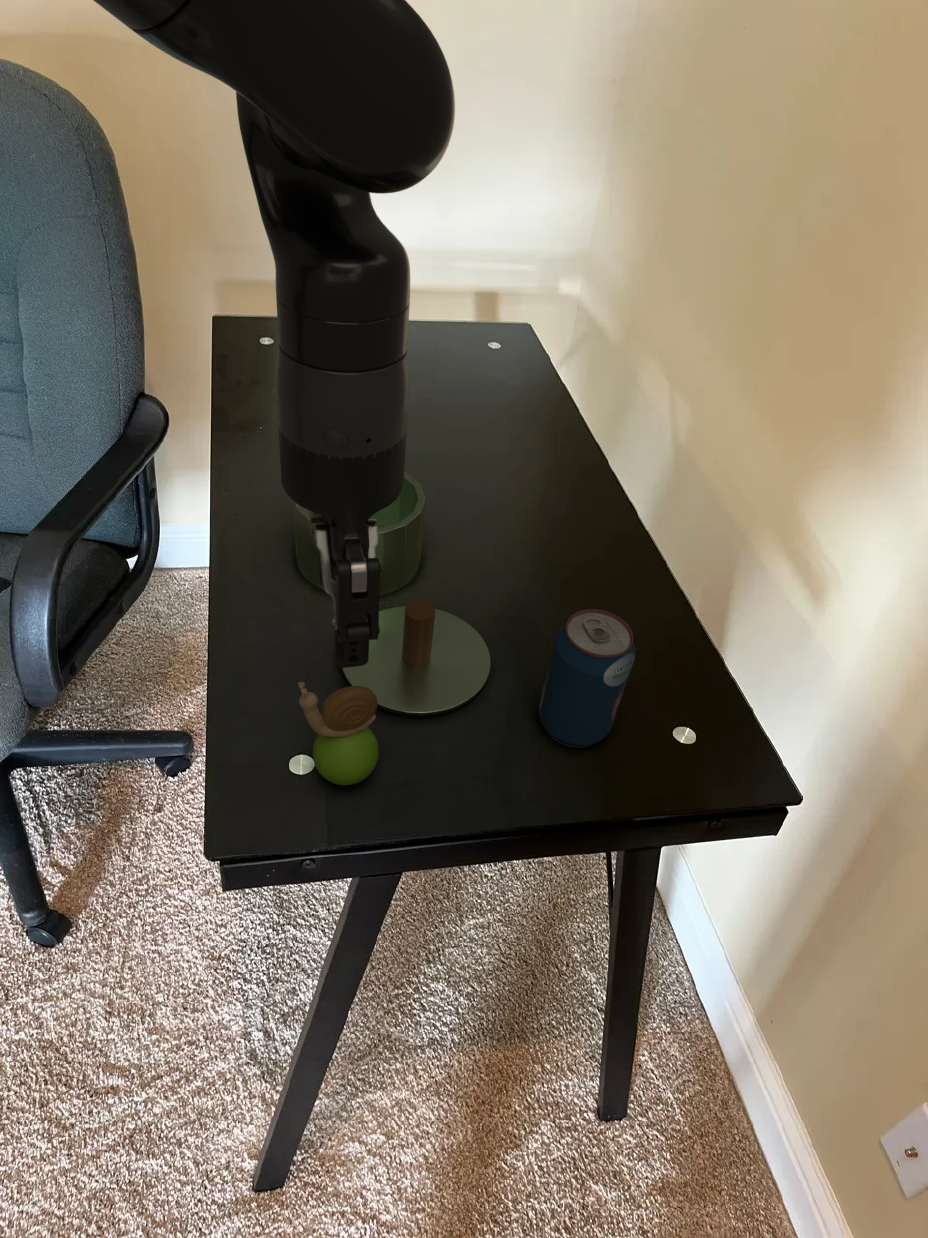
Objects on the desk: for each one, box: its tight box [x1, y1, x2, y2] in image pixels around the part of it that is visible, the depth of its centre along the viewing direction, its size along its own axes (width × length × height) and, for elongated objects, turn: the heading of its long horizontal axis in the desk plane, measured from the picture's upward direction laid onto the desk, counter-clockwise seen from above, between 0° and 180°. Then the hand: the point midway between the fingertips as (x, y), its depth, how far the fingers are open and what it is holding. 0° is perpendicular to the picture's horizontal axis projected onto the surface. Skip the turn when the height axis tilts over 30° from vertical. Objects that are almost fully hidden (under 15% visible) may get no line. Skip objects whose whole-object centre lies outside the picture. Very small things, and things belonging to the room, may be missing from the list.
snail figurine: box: [297, 681, 380, 786], centre depth 66 cm, size 5×6×12 cm
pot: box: [292, 470, 427, 597], centre depth 89 cm, size 14×14×8 cm
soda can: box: [537, 608, 636, 749], centre depth 73 cm, size 7×7×12 cm
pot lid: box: [341, 599, 491, 717], centre depth 79 cm, size 15×15×7 cm
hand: (342, 621), depth 59 cm, fingers open, 8 cm apart
